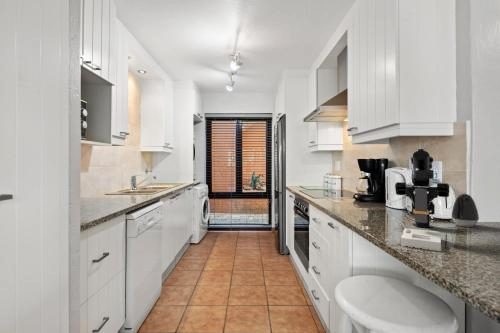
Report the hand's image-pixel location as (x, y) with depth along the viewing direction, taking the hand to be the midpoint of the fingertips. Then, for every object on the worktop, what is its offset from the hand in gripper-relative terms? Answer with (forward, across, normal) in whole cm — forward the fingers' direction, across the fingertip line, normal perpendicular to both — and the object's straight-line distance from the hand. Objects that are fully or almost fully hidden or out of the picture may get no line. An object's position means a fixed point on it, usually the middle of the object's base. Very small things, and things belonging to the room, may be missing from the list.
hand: (420, 205), depth 107 cm
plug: (+4, 0, +6) cm, 7 cm away
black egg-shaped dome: (-16, +17, +36) cm, 43 cm away
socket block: (+12, 0, +7) cm, 14 cm away
